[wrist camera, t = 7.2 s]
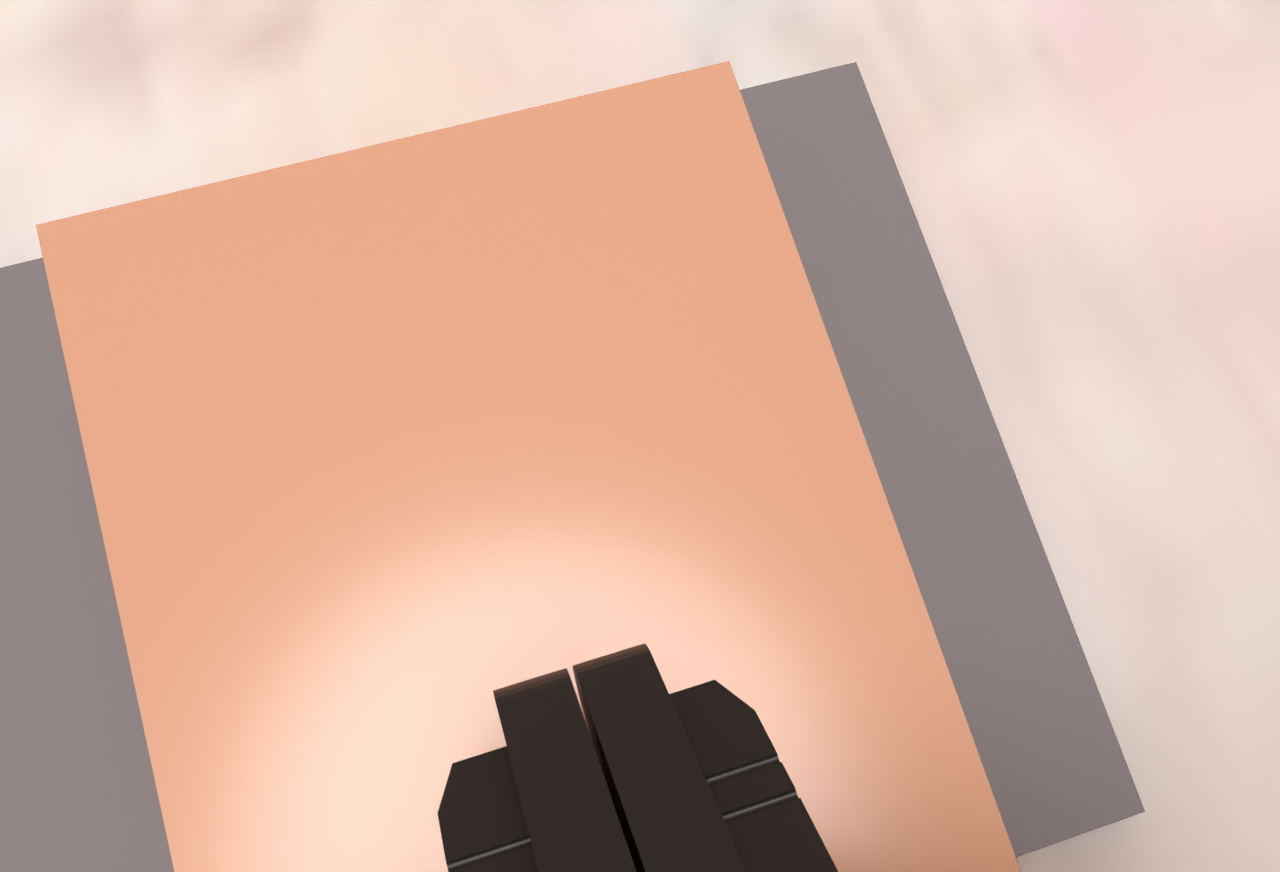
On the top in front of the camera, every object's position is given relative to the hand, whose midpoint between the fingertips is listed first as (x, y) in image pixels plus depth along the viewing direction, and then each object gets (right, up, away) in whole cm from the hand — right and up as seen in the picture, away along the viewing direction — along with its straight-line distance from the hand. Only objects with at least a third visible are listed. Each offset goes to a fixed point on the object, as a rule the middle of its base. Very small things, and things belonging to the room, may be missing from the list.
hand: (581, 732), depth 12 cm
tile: (+1, -5, +4) cm, 7 cm away
